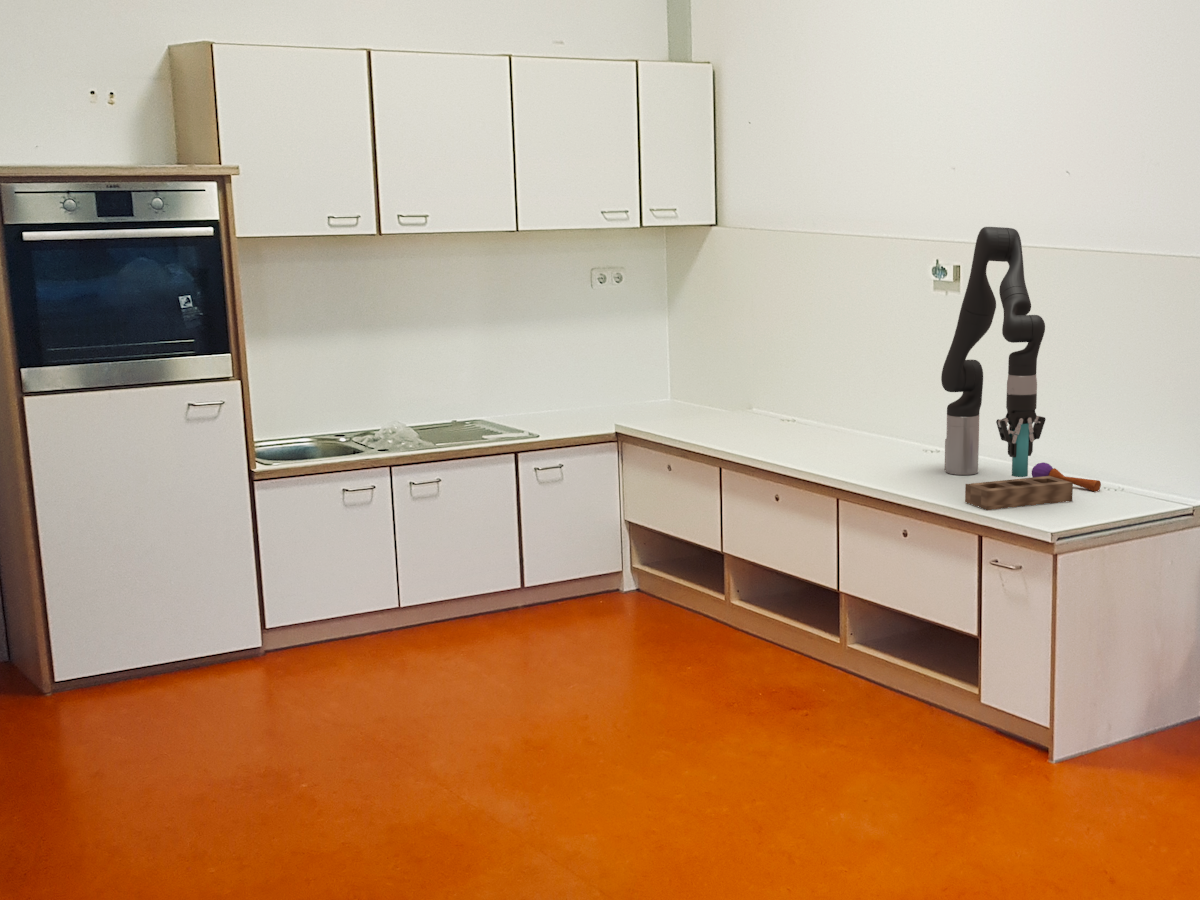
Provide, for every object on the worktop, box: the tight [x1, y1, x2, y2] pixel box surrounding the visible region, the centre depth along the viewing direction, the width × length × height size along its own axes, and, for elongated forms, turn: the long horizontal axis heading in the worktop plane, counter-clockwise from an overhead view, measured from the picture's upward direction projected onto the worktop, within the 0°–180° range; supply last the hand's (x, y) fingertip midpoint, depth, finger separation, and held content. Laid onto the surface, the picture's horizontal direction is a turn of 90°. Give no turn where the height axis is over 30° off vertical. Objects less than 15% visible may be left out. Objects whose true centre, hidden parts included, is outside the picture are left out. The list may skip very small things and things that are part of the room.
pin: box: [1011, 424, 1029, 478], centre depth 352 cm, size 4×4×14 cm
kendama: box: [1031, 462, 1102, 492], centre depth 372 cm, size 6×6×20 cm
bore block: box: [964, 476, 1074, 511], centre depth 354 cm, size 26×10×5 cm, turn 107°
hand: (1019, 455), depth 352 cm, fingers closed on pin, 4 cm apart
